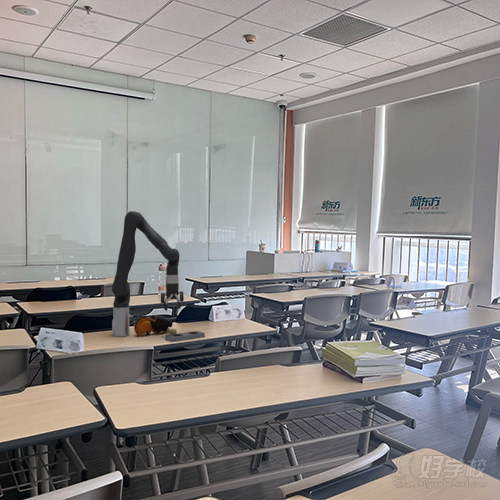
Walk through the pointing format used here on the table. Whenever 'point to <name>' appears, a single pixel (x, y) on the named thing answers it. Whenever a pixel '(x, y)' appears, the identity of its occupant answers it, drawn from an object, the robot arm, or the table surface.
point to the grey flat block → (184, 336)
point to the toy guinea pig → (151, 325)
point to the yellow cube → (171, 331)
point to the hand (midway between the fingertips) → (172, 309)
